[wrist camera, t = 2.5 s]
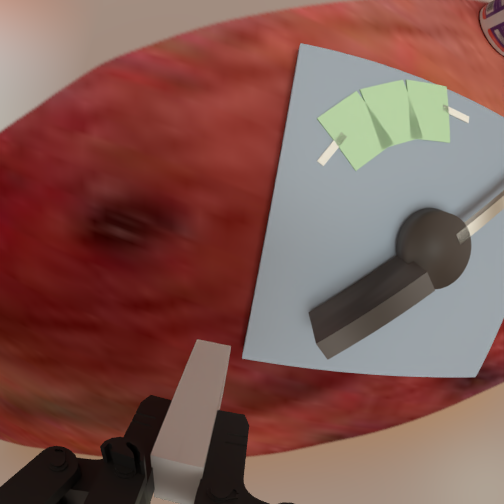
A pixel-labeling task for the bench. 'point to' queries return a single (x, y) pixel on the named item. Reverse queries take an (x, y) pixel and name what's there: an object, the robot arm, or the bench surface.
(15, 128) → the bench surface
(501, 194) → the dark long piece
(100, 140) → the bench surface
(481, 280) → the tuner board
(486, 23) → the pill bottle
